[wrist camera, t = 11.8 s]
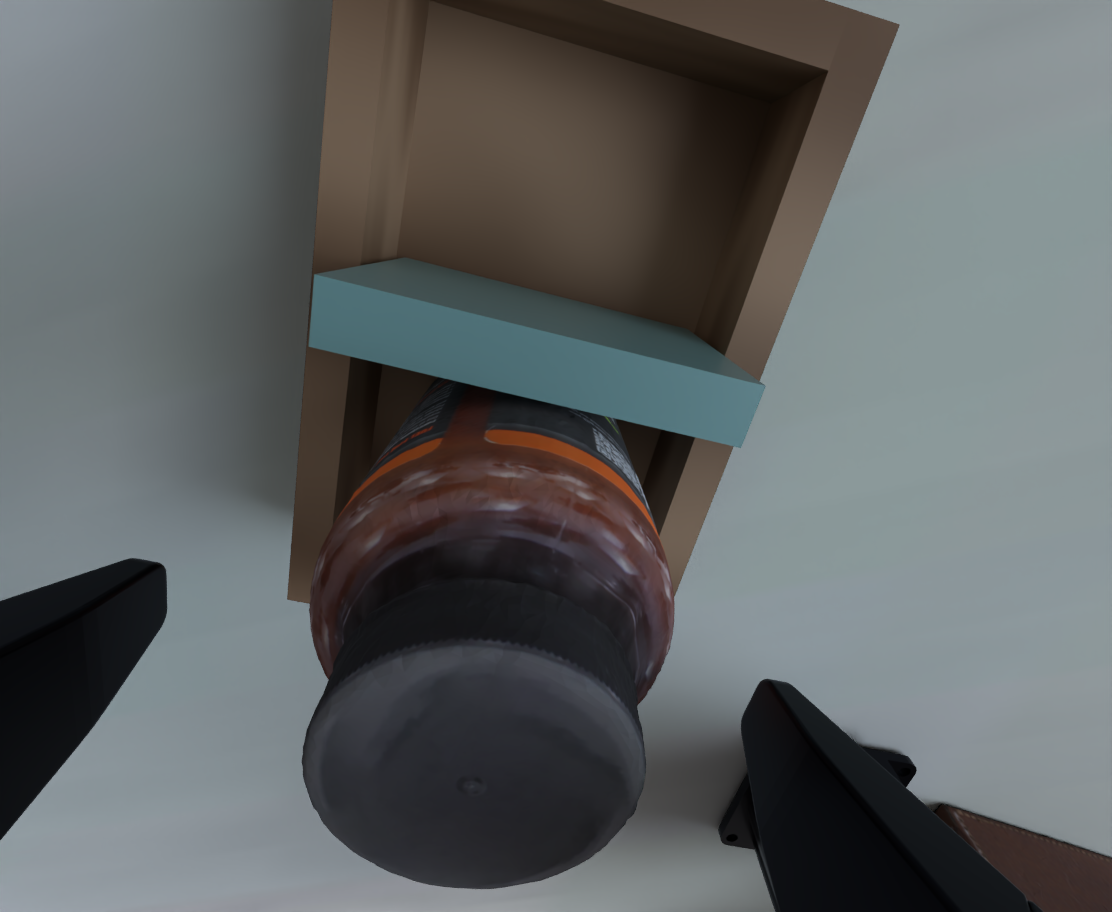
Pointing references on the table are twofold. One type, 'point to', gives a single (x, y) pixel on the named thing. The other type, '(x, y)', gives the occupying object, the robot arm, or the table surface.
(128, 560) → the robot arm
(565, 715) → the supplement bottle
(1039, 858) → the letter holder
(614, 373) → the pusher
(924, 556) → the table surface
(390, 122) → the brown shallow box
